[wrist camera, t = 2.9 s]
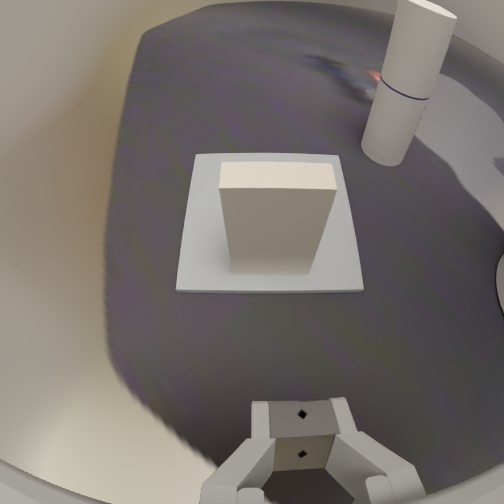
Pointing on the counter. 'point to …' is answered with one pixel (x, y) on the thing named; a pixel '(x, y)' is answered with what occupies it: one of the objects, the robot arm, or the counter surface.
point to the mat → (216, 247)
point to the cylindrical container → (406, 78)
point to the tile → (275, 214)
